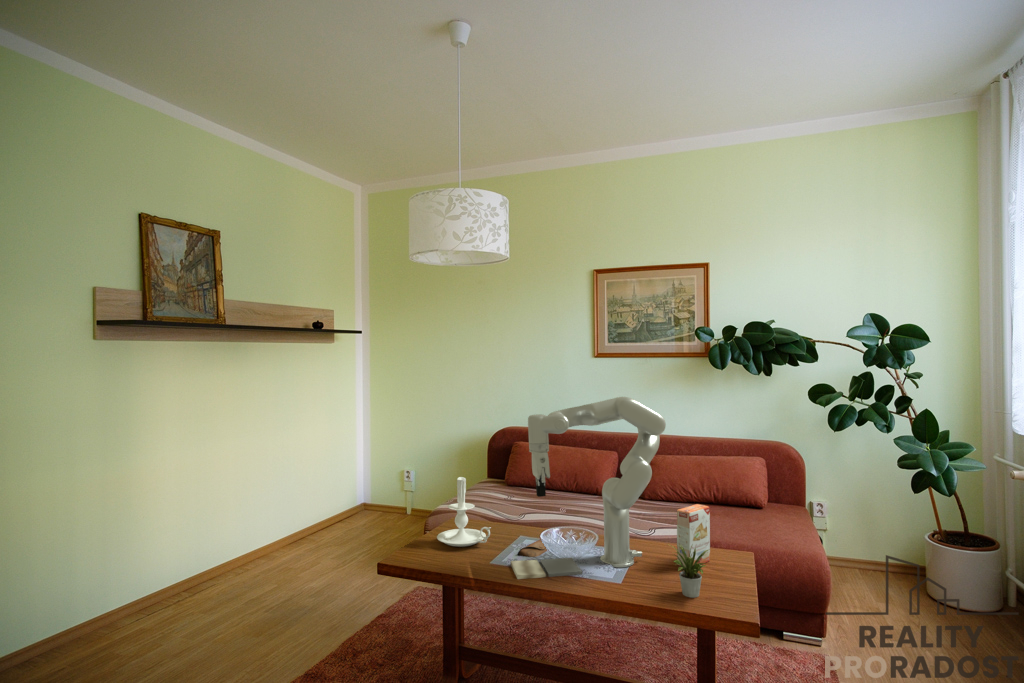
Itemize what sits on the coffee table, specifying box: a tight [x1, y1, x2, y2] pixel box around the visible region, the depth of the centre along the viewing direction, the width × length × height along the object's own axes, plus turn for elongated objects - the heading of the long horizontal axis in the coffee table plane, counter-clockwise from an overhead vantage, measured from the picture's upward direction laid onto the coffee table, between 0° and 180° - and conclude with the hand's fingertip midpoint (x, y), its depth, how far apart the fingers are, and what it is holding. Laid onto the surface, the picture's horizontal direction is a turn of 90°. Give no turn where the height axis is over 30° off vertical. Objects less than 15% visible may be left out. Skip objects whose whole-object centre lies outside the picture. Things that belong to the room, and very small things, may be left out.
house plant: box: [666, 544, 708, 598], centre depth 183 cm, size 14×14×16 cm
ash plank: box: [510, 559, 549, 580], centre depth 202 cm, size 11×14×2 cm
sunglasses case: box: [517, 538, 548, 558], centre depth 223 cm, size 18×7×7 cm
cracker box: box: [676, 503, 711, 567], centre depth 211 cm, size 14×6×21 cm, turn 129°
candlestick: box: [436, 476, 492, 548], centre depth 235 cm, size 21×25×28 cm
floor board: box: [539, 557, 583, 578], centre depth 204 cm, size 12×14×2 cm
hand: (541, 495), depth 211 cm, fingers closed
